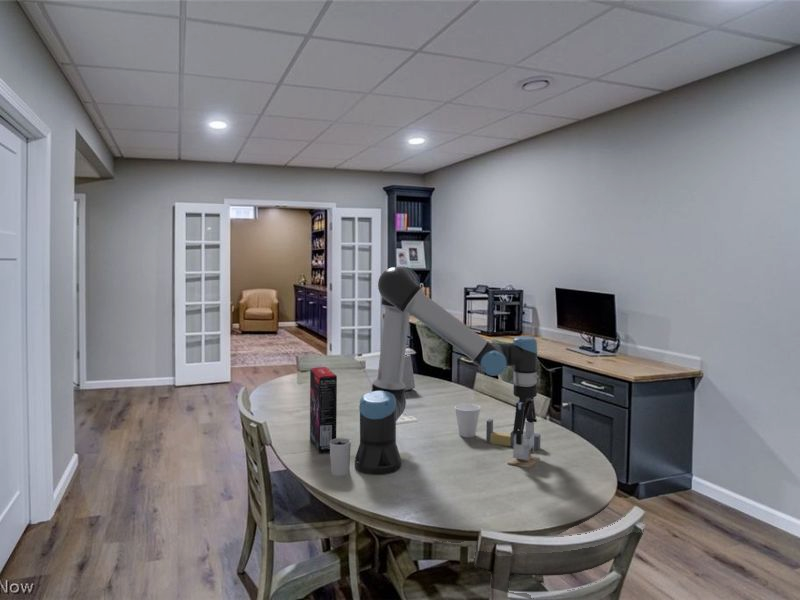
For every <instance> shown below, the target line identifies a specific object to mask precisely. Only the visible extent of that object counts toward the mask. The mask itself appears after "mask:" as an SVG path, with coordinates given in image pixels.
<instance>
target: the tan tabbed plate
mask: <svg viewBox="0 0 800 600" xmlns="http://www.w3.org/2000/svg"><path fill="white" fill-rule="evenodd" d="M539 459H540V456H536V455H532V454H531V449H530V453H529V460H523V459H517V458H513V456H512V457H511V458H510V459H509V461H508V462H507V465H509V466H514V467H516V466H517V467H521V468H526V469H533V468H534V467H535V465H536V463H537V462H538V461H539Z"/></svg>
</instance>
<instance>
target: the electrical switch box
mask: <svg viewBox="0 0 800 600" xmlns="http://www.w3.org/2000/svg"><path fill="white" fill-rule="evenodd" d="M402 381H403V383H404V384H405V385H406V389H405V392H406V391H409V390H413V389H416V383H415V376H414V370H413V361H412V355H411V354H410V355H407V356H405V360H404V368H403V377H402Z"/></svg>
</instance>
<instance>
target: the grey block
mask: <svg viewBox="0 0 800 600" xmlns="http://www.w3.org/2000/svg"><path fill="white" fill-rule="evenodd" d="M523 434H524V454H516V453H515V436H514V447H513V448H512V449H513V451H512V453H513V456H512V457H513V458H517V459H523V460H529V453H530V449H531V455H534V453H535V450H534V434H535V432H534V433H532V432H526V430H524V431H523Z"/></svg>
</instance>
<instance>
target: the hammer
mask: <svg viewBox="0 0 800 600" xmlns="http://www.w3.org/2000/svg"><path fill="white" fill-rule="evenodd" d="M514 436H515V434H513V433H512V431H511V432H510V433H504V432H500V431H499V432H498V431H494V419H493V418H492V419H491V418H489V419H487V420H486V438H485V439H486V443H487V444H491V445H492V444H493V445H500V446H506V447H513V448H514ZM540 449H541V433H540V434H539V433H534V451H537V452H538V451H540Z"/></svg>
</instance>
